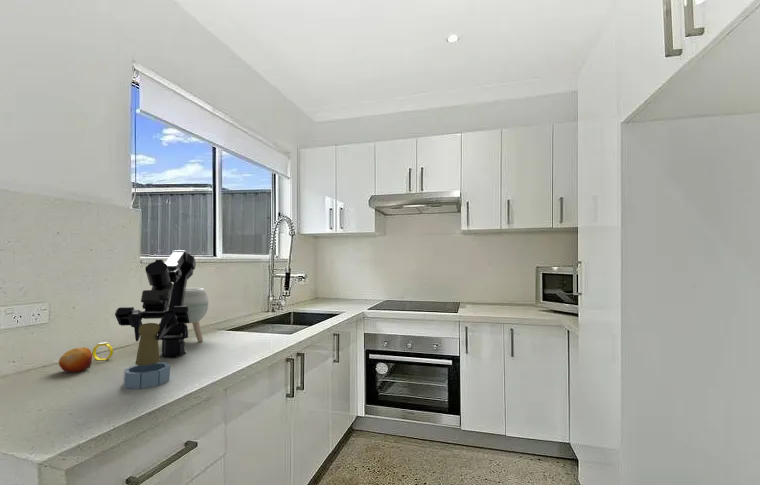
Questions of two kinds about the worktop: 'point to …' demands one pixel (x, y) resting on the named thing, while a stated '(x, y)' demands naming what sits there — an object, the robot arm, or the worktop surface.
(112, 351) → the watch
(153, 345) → the cork
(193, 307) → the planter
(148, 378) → the bowl
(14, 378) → the worktop surface
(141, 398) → the worktop surface
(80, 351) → the fruit
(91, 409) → the worktop surface
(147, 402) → the worktop surface
